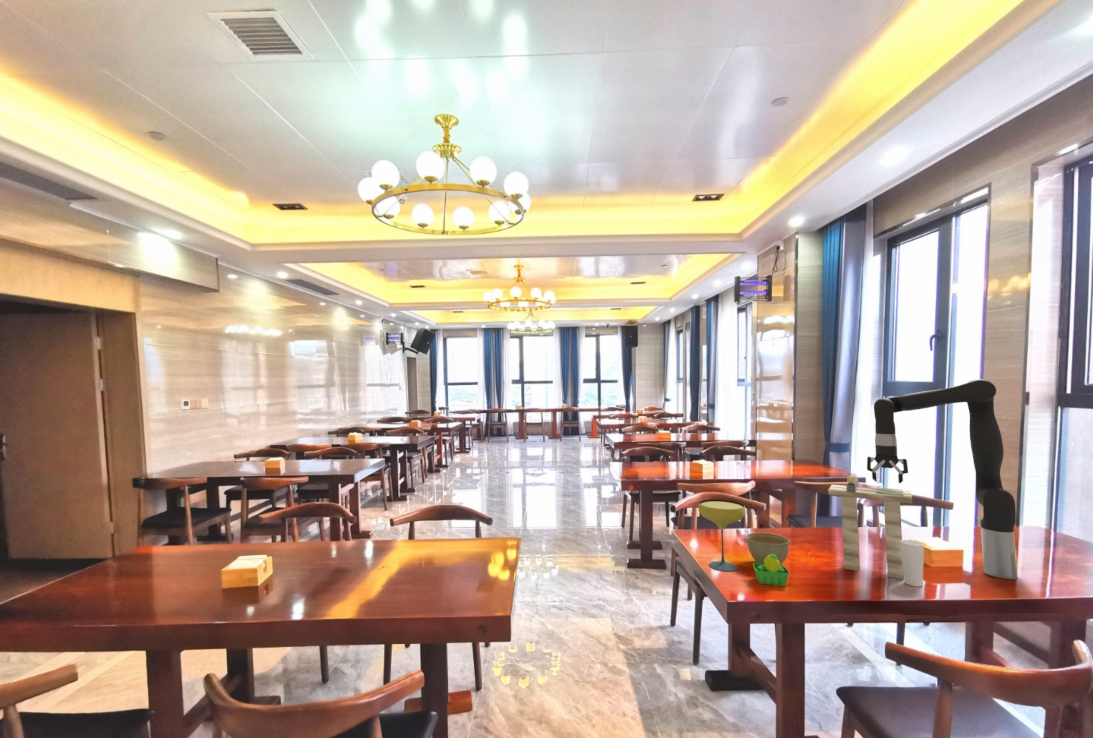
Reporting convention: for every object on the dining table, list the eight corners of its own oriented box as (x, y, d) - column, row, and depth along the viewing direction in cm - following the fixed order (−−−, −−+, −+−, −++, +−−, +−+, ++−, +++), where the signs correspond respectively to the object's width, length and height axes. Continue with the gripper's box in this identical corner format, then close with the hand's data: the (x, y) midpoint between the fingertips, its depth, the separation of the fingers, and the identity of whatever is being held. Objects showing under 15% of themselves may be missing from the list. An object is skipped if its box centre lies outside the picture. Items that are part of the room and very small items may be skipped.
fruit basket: (785, 579, 174) (784, 549, 175) (791, 589, 166) (789, 557, 166) (752, 576, 177) (751, 546, 178) (756, 586, 169) (755, 554, 169)
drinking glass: (902, 579, 174) (900, 538, 175) (925, 583, 169) (923, 542, 170) (901, 585, 169) (899, 543, 169) (925, 589, 164) (923, 546, 165)
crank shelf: (835, 562, 192) (831, 483, 194) (915, 576, 176) (910, 490, 178) (831, 572, 180) (828, 488, 182) (917, 589, 165) (912, 496, 167)
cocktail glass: (700, 572, 182) (698, 507, 184) (699, 557, 199) (697, 498, 201) (749, 577, 177) (747, 510, 178) (744, 561, 194) (742, 500, 195)
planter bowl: (780, 558, 197) (779, 532, 197) (797, 573, 181) (796, 544, 181) (741, 557, 198) (740, 531, 199) (754, 571, 182) (753, 543, 183)
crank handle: (850, 482, 197) (850, 469, 198) (858, 483, 195) (858, 469, 196) (846, 491, 180) (846, 476, 180) (855, 492, 178) (854, 477, 178)
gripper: (866, 444, 202) (868, 481, 201) (907, 446, 194) (909, 485, 193) (865, 442, 208) (867, 479, 207) (905, 444, 200) (907, 482, 200)
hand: (887, 482), depth 200 cm, fingers open, 8 cm apart
